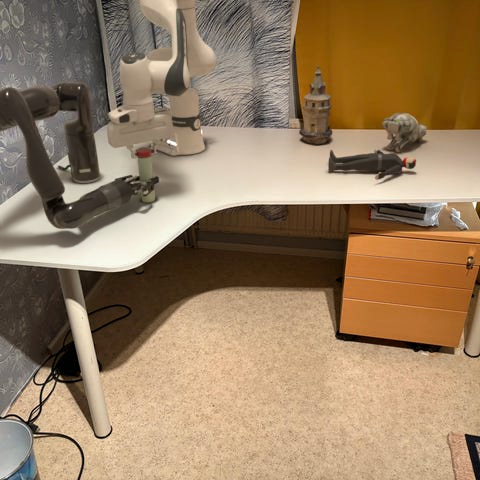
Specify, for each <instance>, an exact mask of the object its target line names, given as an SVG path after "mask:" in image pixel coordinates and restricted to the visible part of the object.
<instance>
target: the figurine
mask: <svg viewBox="0 0 480 480" xmlns="http://www.w3.org/2000/svg"><path fill="white" fill-rule="evenodd" d="M381 126H382V127H383V129H384V130H385V131H386V132H387V137H386V140H389V141H390V143H389V144H388V145H387V146H386V149H387V150H388V151H393V149H394V146H395V145H396V144H397V143H398V144H397V146H396V147H395V152H396V153H401V151H402V148H403V147H404V146H405V145H406V144H407V143H414V142H423V138H424V137H425V136H426V135H427V130H428V128H427V126H426V125H423V124H419V122H418V120H417V119H416V118H415V117H414V116H413V115H412V114H410V113H405V112H397V113H394V114H392V115H391V116H390V117H385V118H384V119H383V121H382V122H381Z"/></svg>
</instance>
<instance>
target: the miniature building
mask: <svg viewBox="0 0 480 480" xmlns="http://www.w3.org/2000/svg"><path fill="white" fill-rule="evenodd" d="M320 67H321V66H320V65H317V66H316V68H317V69H316V71H315V72H314V75H315V76H314V79H313V81H312V83H310V84H309V85H308V86H309V93H307V94H306V95H304V96H303V97H302V98H303V105H301V106H302V109H303V114H302V115H303V124H302V127H300V129H299V132H298V134H299V136H300V137H302V139H303V141H305V142H307V143H309V144H314V145H320V144H321V145H322V144H325V143H326V142H327V141H328V140H329V139H330V137H332V135H333V129H331V125H329V120H330V115H331V108H332V106H333V105H332V104H331V98H332V96H331V95H330V94H328V93H326V81H324V82H323V78H322V71H321V70H320Z"/></svg>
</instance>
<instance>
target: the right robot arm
mask: <svg viewBox="0 0 480 480" xmlns="http://www.w3.org/2000/svg"><path fill="white" fill-rule="evenodd" d="M139 8H140V11H141V13H142V15H143V16H144V17H145V19H147V20H148V21H149V22H150V23H152V24H153V25H154V26H157V27H160V28H162V29H164V30H165V31H166V32H167V33H168V34H169V35H170V36H171V46H166V47H165V46H164V47H159V48H156V49H153V50H150V51H149V53H148V55H146V54H145V53H143V52H139V51H138V52H137V51H135V52H129V53H126V54H124V55H122V56H121V57H120V60H119V81H120V82H119V84H120V88H121V91H122V105H120V106H118V107H117V108H115V109H112V110H110V111H109V112H108V114H107V117H108V119H109V120H110V121H108V123H107V142H108V144H109V145H110V146H111V147H112V148H113V149H118V148H119V149H120V148H124V147H126V148H127V149H128V151H129V152H130V157H131V158H132V159H137V158H138V156H137V155H138V153H137V152H136V150H134V149H133V148H134V146H135V145H139V144H143V143H149V142H151V144H150V147H149V148H150V149H151V152H152V155H151V156H153V155H156V154H157V151H159V152H161V153H164V154H167V155H169V156H174V157H175V156H176V157H177V156H182V155H183V156H186V155H194V154H199V153H201V152H204V151H205V149H206V145H205V142H204V139H203V138H204V137H203V130H202V127H201V126H202V115H201V112H200V100H199V99H200V98H199V97H200V95H199V93H198V92H197V90H196V89H195V88H193V87H191V86H190V84H191V78H193V77H203V76H205V75H209V74H211V73H213V72H214V71H215V68H216V67H217V66H216V65H217V56H216V53H215V51H214V50H213V48H212V47H210V46H209V45H208V44H206V42H205V41H204V40H203V39H202V37H201V35H200V34H199V30H198V27H197V26H198V25H197V16H196V0H139ZM153 95H167V96H168V102H169V106H170V107H167V106H164V107H163V106H162V107H157V108H155V106H154V105H155V104H154V98H153Z"/></svg>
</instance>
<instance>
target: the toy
mask: <svg viewBox="0 0 480 480" xmlns="http://www.w3.org/2000/svg"><path fill="white" fill-rule="evenodd" d="M327 163H328V173H332V172H336V171H343V172H348V171H358V172H365V171H367V172H375V171H379V172H378V173H377V174H375V176H374V179H375V180H376V181H378V180H382V179H384V178H385V177H386V176H389V175H392V174H393V175H394V174H395V175H396V174H399V173H401V172H402V170H403V168H405V169H407V170H413V169H414V168H415V167H416V165H417V159H416V158H414V157H407V156H406V157H404V158H403V159H402V158H401V157H400V156H399V155H398V154H397V153H395V152H391V153H384V152H383V151H381V150H380V149H374V150H373V152H370V153H362V154H355V155H348V156H347V155H346V156H341V157H340V156H339V157H337V156H336V155H335V153H334V151H333V150H332V149H330V151H329V157H328V161H327ZM380 170H385V171H383V172H381V171H380Z"/></svg>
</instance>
